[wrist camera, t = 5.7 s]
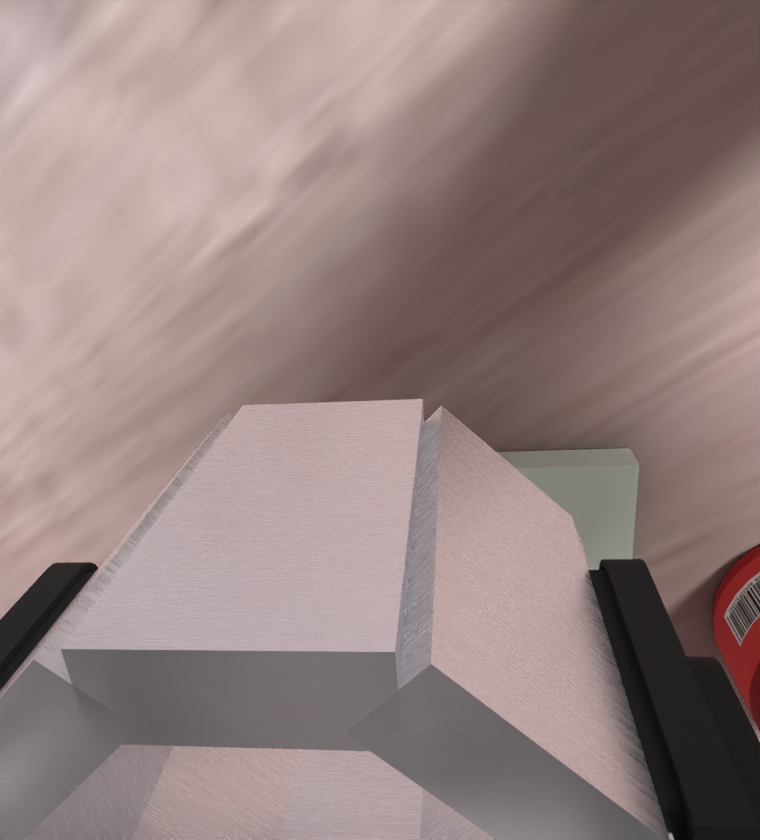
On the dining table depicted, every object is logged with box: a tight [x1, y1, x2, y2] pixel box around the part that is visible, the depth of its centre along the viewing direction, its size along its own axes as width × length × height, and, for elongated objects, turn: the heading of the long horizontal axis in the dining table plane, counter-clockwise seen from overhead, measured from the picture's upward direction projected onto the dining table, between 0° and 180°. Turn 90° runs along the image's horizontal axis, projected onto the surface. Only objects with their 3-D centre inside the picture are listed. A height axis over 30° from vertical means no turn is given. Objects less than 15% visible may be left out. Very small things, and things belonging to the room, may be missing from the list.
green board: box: [497, 448, 639, 570], centre depth 30 cm, size 13×13×2 cm
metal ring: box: [0, 399, 674, 840], centre depth 9 cm, size 7×7×5 cm
